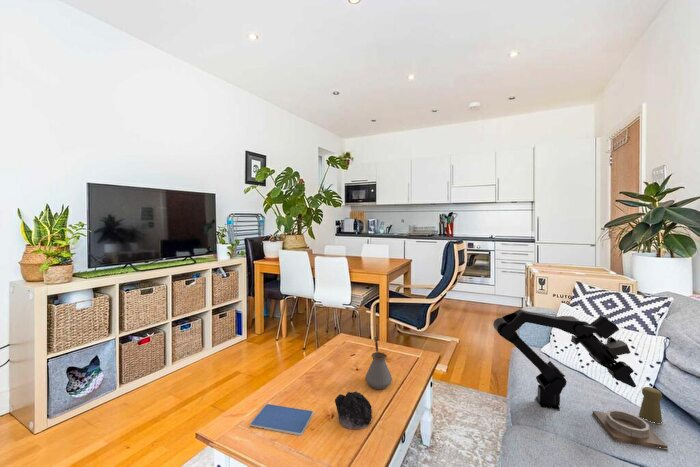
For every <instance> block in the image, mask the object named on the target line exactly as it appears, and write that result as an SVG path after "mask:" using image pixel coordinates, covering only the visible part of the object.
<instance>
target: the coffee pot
mask: <svg viewBox="0 0 700 467" xmlns="http://www.w3.org/2000/svg"><path fill="white" fill-rule="evenodd" d="M374 342H375V344H374V346H375V351H376V352H373V353H372V354H371V358H372V362H371V364H370V366H369V368H368V369H367V372H366V374H365V381H366V383H367V384H368V385H369V386H370V387H371V388H372V389H374V390H385V389H386V388H388V387H389V386H390V385H391V384H392V381H393V377H392V374H391V372H390V369H389V367H388V365H387V362H386V359H387V357H388V355H387V354H386V353H384V352H379V344H378V337H376V336H375V337H374Z"/></svg>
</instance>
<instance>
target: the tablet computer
mask: <svg viewBox="0 0 700 467" xmlns="http://www.w3.org/2000/svg"><path fill="white" fill-rule="evenodd" d="M314 415H315V414H314V410H309V409H302V408H295V407H290V406H283V405H278V404H271V403H266V404H265V405H264V406H263V407H262V409H260V411H259V413H257V414H256V416H255V417H254V418H253V420H252V421H251V422H250V423H249V427H250V426H255V427H254V428H256V427H259V428H258V429H262V428H264V429H263V430H268V431H273V432H279V433H285V434H291V435H295V436H300V437H301V436H303V434H304V433H305V431H306V429H307V427H308V426H309V423H310V421H311V419H312V417H313V416H314Z"/></svg>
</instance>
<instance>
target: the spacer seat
mask: <svg viewBox="0 0 700 467" xmlns="http://www.w3.org/2000/svg"><path fill="white" fill-rule="evenodd" d="M592 415H593V417H594V418H595V419H596V418H597V419H596V420H597V421H598V422H599V424H600V425H601V426H602V428H603V429H604V430H605V431H606V433H607V434H608V435H609V437H610V438H611V439H612V440H613V441H614V442H615V441H616V442H623V443H627V444H633V445H638V446H644V445H645V446H644V447H651V448H655V447H658V448H657V449H661V448H667V449H668V447H669V446H668V444H666V443H665V442H664V441H663V439H661V438H660V437H659V436H658V435H657V434H656V433H655V432H654V431H653V430H652V429H651V428H650V425H649V423H648V422H647V421H646V420H644V419H642V418H641V417H640V416H637V415H635V414H633V413H630V412H627V411H624V410H618V409H611V410H607V412H605V411H597V410H592ZM659 447H661V448H659Z"/></svg>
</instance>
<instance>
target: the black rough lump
mask: <svg viewBox="0 0 700 467" xmlns="http://www.w3.org/2000/svg"><path fill="white" fill-rule="evenodd" d="M334 404H335V408H336V411H337V416H338V423H339V424H341V425H342V426H343V428H346V429H349V430H359V429H360V430H362V429H366V428H368V426H370V424H371V423H372V418H373V409H372V405H371V403H370V401H369V400H368V399H367V398H366V396H365V395H363V394H362V393H361V392H358V391H353V392H351V391H348V392H346V394H345V395H344V394H339V395H337V396H336V397H335V399H334Z"/></svg>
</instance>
